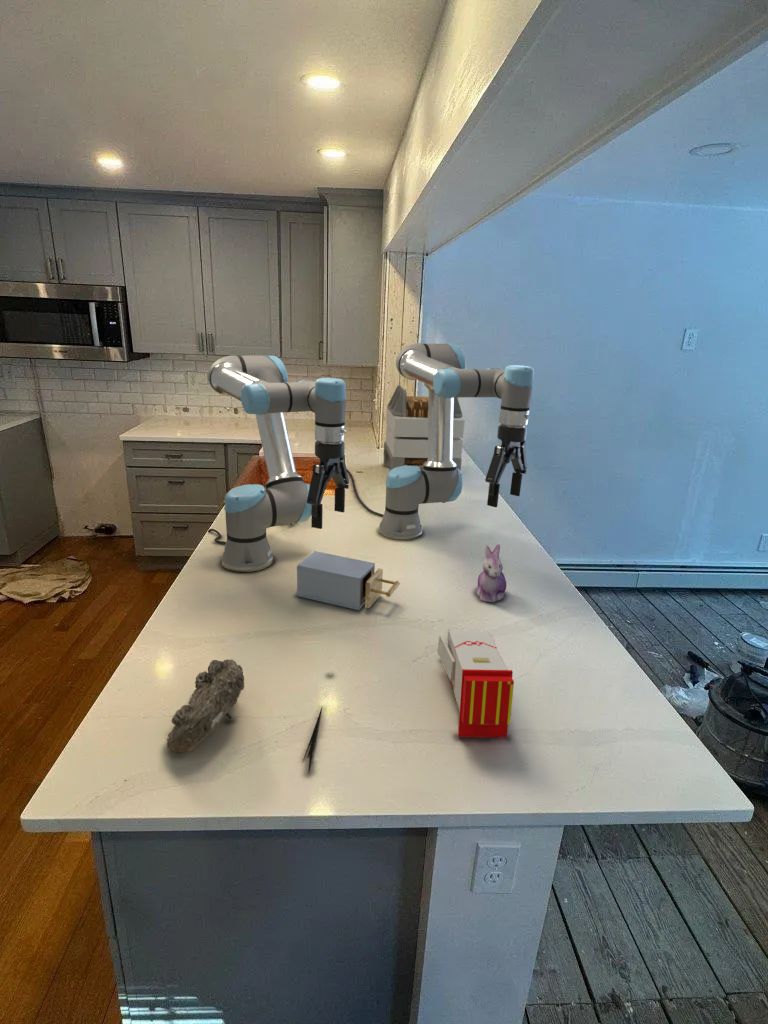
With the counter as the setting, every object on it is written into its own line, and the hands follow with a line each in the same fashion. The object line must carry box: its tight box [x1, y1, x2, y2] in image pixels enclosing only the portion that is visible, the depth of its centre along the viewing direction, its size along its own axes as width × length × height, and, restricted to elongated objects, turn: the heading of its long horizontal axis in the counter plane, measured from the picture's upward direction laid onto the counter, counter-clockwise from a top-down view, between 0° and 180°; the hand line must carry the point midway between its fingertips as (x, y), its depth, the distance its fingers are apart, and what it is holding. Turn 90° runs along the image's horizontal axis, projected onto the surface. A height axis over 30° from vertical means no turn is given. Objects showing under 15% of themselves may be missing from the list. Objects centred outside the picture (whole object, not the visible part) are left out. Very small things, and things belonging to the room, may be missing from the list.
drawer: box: [361, 568, 401, 609], centre depth 152 cm, size 22×9×7 cm, turn 69°
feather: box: [301, 673, 332, 771], centre depth 108 cm, size 2×28×2 cm
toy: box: [437, 628, 515, 738], centre depth 117 cm, size 12×13×30 cm
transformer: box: [383, 384, 465, 473], centre depth 268 cm, size 34×33×41 cm
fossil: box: [166, 658, 245, 754], centre depth 106 cm, size 22×10×15 cm
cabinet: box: [296, 550, 376, 611], centre depth 154 cm, size 18×10×9 cm, turn 69°
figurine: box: [476, 544, 507, 603], centre depth 157 cm, size 9×10×15 cm
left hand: (328, 519), depth 151 cm, fingers open, 13 cm apart
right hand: (503, 500), depth 159 cm, fingers open, 13 cm apart
